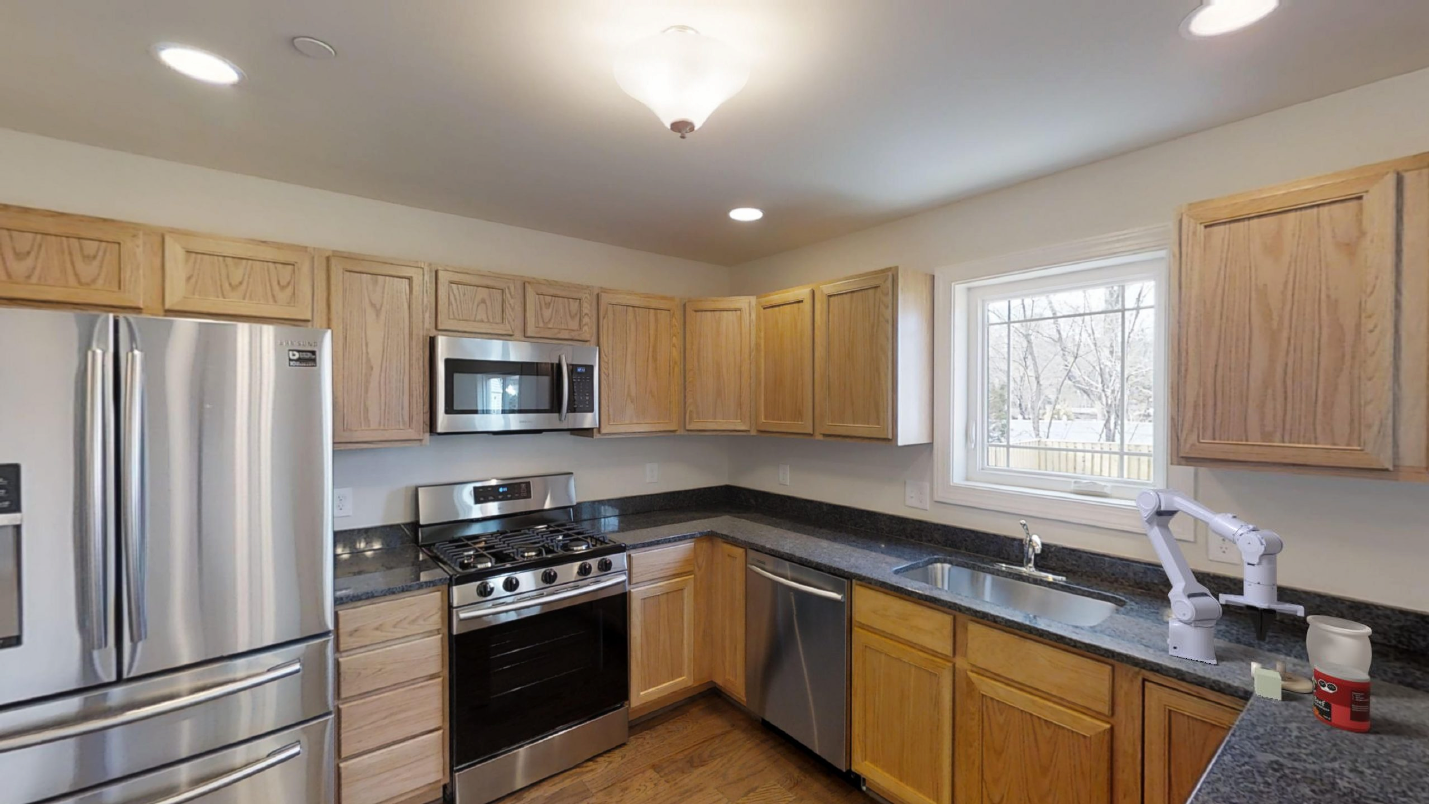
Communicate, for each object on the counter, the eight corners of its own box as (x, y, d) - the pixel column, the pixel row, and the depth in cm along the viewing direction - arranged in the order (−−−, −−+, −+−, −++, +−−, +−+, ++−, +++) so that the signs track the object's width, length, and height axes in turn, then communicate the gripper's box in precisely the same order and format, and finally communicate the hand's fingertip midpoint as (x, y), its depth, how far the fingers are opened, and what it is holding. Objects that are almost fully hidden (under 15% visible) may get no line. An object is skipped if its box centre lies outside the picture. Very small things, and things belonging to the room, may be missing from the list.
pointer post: (1251, 678, 139) (1251, 663, 139) (1250, 675, 141) (1250, 661, 141) (1261, 680, 138) (1262, 666, 138) (1260, 677, 140) (1260, 663, 140)
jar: (1351, 700, 129) (1352, 633, 129) (1294, 679, 139) (1295, 616, 139) (1382, 694, 132) (1383, 629, 132) (1324, 673, 142) (1325, 612, 142)
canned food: (1310, 708, 126) (1311, 658, 126) (1364, 721, 121) (1365, 669, 121) (1316, 723, 120) (1317, 670, 120) (1374, 738, 115) (1374, 683, 115)
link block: (1256, 695, 131) (1256, 673, 131) (1254, 688, 134) (1254, 667, 134) (1281, 701, 129) (1281, 678, 129) (1278, 694, 132) (1278, 672, 132)
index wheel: (1267, 685, 135) (1267, 661, 135) (1262, 672, 142) (1262, 650, 142) (1315, 696, 130) (1316, 672, 130) (1308, 682, 137) (1308, 659, 137)
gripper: (1220, 580, 138) (1221, 637, 138) (1306, 592, 129) (1307, 653, 129) (1218, 573, 144) (1218, 628, 144) (1300, 584, 135) (1301, 643, 135)
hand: (1260, 639), depth 137 cm, fingers closed
